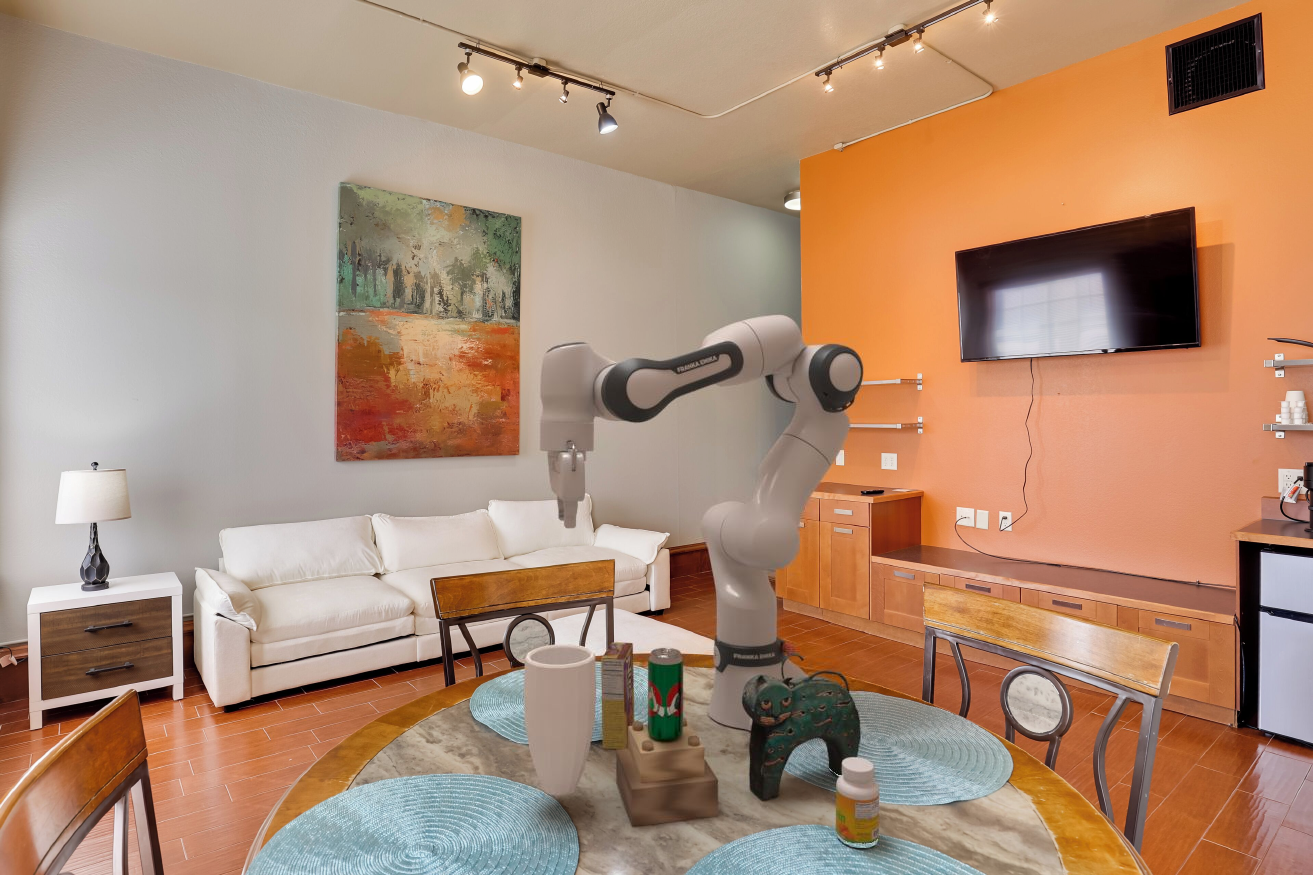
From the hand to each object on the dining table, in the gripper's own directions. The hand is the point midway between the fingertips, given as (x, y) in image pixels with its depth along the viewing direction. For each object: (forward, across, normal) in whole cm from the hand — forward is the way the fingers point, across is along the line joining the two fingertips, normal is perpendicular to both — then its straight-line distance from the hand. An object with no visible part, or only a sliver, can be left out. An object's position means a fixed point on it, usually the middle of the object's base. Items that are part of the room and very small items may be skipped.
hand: (566, 523), depth 118 cm
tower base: (+37, -20, -12) cm, 44 cm away
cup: (+37, -19, +3) cm, 42 cm away
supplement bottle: (+37, -35, -34) cm, 61 cm away
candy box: (+37, +1, -9) cm, 38 cm away
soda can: (+28, -20, -12) cm, 37 cm away
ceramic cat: (+37, -20, -33) cm, 54 cm away
